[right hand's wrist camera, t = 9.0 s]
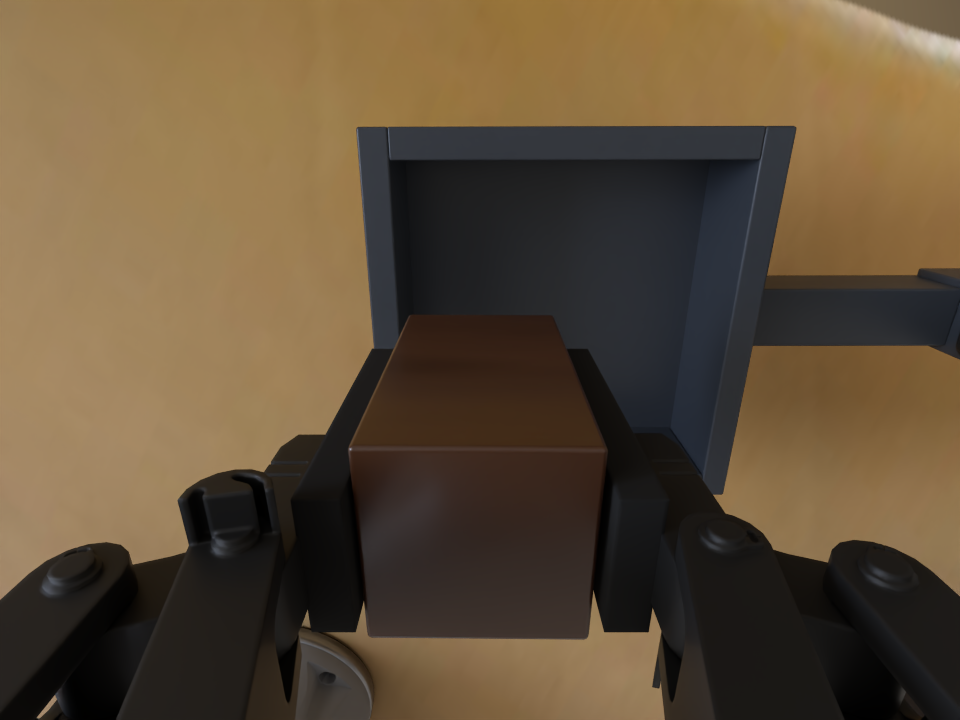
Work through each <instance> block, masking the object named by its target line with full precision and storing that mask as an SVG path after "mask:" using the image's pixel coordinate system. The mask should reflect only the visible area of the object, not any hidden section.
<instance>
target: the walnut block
mask: <svg viewBox="0 0 960 720" xmlns="http://www.w3.org/2000/svg"><path fill="white" fill-rule="evenodd" d="M348 454H349V463H350V472H351V482H352V491H353V501H354V510H355V520H356V529H357V539H358V548H359V558H360V567H361V577H362V586H363V595H364V605H365V614H366V624H367V632H368V635H369V637H372V638H481V639H587V637H588V634H589V626H590V617H591V607H592V598H593V588H594V579H595V570H596V560H597V551H598V541H599V532H600V522H601V513H602V503H603V494H604V484H605V475H606V466H607V456H608V449H607V447H606V444H605V442H604V439H603V437H602V434H601V432H600V430H599V427H598V425H597V422H596V420H595V417H594V415H593V412H592V410H591V407H590V405H589V403H588V400H587V398H586V395H585V393H584V390H583V388H582V385H581V383H580V380H579V378H578V376H577V373H576V371H575V368H574V366H573V363H572V361H571V358H570V356H569V353H568V351H567V349H566V346H565V344H564V341H563V339H562V336H561V334H560V331H559V329H558V326H557V324H556V322H555V319H554V317H553V316H552V315H409V317H408V319H407V321H406V323H405V326H404V328H403V330H402V332H401V334H400V336H399V339H398V341H397V343H396V345H395V347H394V350H393V352H392V354H391V356H390V358H389V360H388V363H387V365H386V367H385V369H384V371H383V373H382V376H381V378H380V380H379V382H378V384H377V387H376V389H375V391H374V393H373V395H372V397H371V400H370V402H369V404H368V406H367V408H366V410H365V413H364V415H363V417H362V419H361V421H360V424H359V426H358V428H357V430H356V432H355V434H354V437H353V439H352V441H351V443H350V445H349V448H348Z"/></svg>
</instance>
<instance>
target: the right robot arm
mask: <svg viewBox="0 0 960 720" xmlns="http://www.w3.org/2000/svg"><path fill="white" fill-rule="evenodd" d="M393 350H394V349H372V350H371V352H370V354H369V356H368V357H367V359H366V361H365V363H364V365H363V367H362V368H361V370H360V372H359V374H358V376H357V378H356V380H355V381H354V383H353V385H352V387H351V389H350V391H349V392H348V394H347V396H346V398H345V400H344V402H343V404H342V405H341V407H340V409H339V411H338V413H337V415H336V416H335V418H334V420H333V422H332V424H331V426H330V428H329V429H328V431H327V433H326V435H298V436H296V437H295V438H293V439H292V440H290V441H289V442H288V443H286V444H285V445H283V446H282V447H281V448H280V449H279V451H278V452H277V454H276V455H275V457H274V458H273V460H272V461H271V465H269V466H268V467H267V469H266V470H265V472H264V473H263V472H260V471H256V470H252V469H248V470H231V471H226V472H222V473H217V474H215V475H212V476H210V477H207V478H205V479H202V480H200V481H199V482H197V483H195V484H194V485H192V486H191V487H189V488H188V489H186V491H185V492H184V493H183V494H182V495H181V497H180V498H179V499H178V504H179V508H180V512H181V515H182V519H183V523H184V527H185V531H186V535H187V539H188V543H189V547H188V549H187V552H186V553H182V554H179V555H175V556H171V557H167V558H162V559H158V560H153V561H148V562H144V563H139V564H135V565H133V564H132V561H131V558H130V555H129V552H128V551H127V550H126V549H125V548H124V547H123V546H121V545H118V544H113V543H107V542H105V543H96V544H88V545H84V546H80V547H78V548H74V549H71V550H68V551H66V552H64V553H62V554H60V555H58V556H56V557H54V558H52V559H50V560H47V561H46V562H44V563H43V564H42V565H40V566H39V567H38V568H36V569H35V570H34V571H32V572H31V573H29V574H28V575H27V576H26V577H25V578H24V579H23V580H22V581H21V582H20V583H18V584H17V585H16V586H15V587H14V588H13V589H12V590H11V591H10V592H9V593H7V594H6V595H5V596H4V597H3V598H2V599H1V600H0V720H370V716H371V711H372V706H373V701H374V687H373V682H372V679H371V676H370V674H369V672H368V670H367V668H366V667H365V665H364V664H363V663H362V661H361V660H360V659H359V658H358V657H357V656H356V655H355V654H354V653H353V652H352V651H351V650H349V649H348V648H347V647H345V646H344V645H343V644H341V643H339V642H338V641H336V640H334V639H332V638H330V637H328V636H326V635H323V634H321V633H318V632H356V629H357V625H358V621H359V617H360V614H361V610H362V606H363V602H364V595H363V586H362V577H361V567H360V558H359V548H358V539H357V529H356V520H355V510H354V501H353V491H352V482H351V472H350V463H349V454H348V448H349V445H350V443H351V441H352V439H353V437H354V434H355V432H356V430H357V428H358V426H359V424H360V421H361V419H362V417H363V415H364V413H365V410H366V408H367V406H368V404H369V402H370V400H371V397H372V395H373V393H374V391H375V389H376V387H377V384H378V382H379V380H380V378H381V376H382V373H383V371H384V369H385V367H386V365H387V363H388V360H389V358H390V356H391V354H392V352H393ZM567 351H568V353H569V356H570V358H571V361H572V363H573V366H574V368H575V371H576V373H577V376H578V378H579V380H580V383H581V385H582V388H583V390H584V393H585V395H586V398H587V400H588V403H589V405H590V407H591V410H592V412H593V415H594V417H595V420H596V422H597V425H598V427H599V430H600V432H601V434H602V437H603V439H604V442H605V444H606V447H607V449H608V456H607V466H606V475H605V484H604V494H603V503H602V513H601V522H600V532H599V541H598V551H597V560H596V570H595V579H594V588H593V590H594V594H595V598H596V602H597V606H598V610H599V613H600V617H601V621H602V625H603V629H604V632H649V626H650V620H651V614H652V608H653V610H654V612H655V615H656V617H657V620H658V623H659V625H660V628H661V631H662V632H661V638H660V643H659V649H658V655H657V661H656V667H655V672H654V679H653V686H652V687H654V688H660V682H661V687H662V696H663V706H664V715H665V720H960V596H959V595H958V594H956V593H955V592H954V591H953V590H952V589H951V588H950V587H949V586H948V585H946V584H945V583H944V582H943V581H942V580H941V579H940V578H939V577H938V576H937V575H935V574H934V573H933V572H932V571H931V570H929V569H928V568H927V567H925V566H924V565H923V564H921V563H920V562H918V561H917V560H916V559H914V558H912V557H910V556H908V555H906V554H904V553H902V552H900V551H898V550H896V549H894V548H891V547H888V546H884V545H882V544H878V543H874V542H868V541H858V540H852V541H846V542H841V543H839V544H838V545H837V546H836V547H834V548H833V549H832V552H831V555H830V558H829V561H828V563H827V562H822V561H818V560H813V559H808V558H804V557H799V556H795V555H790V554H786V553H783V552H779V551H776V550H773V548H772V546H771V544H770V543H769V541H768V540H767V538H766V537H765V536H764V534H763V533H762V532H761V531H759V530H758V529H757V528H755V527H754V526H753V525H751V524H750V523H748V522H746V521H744V520H742V519H739V518H737V517H735V516H732V515H728V514H725V512H724V511H723V509H722V508H721V506H720V505H719V503H718V502H717V500H716V499H715V497H714V496H713V494H712V493H711V492H710V490H709V489H708V487H707V486H706V484H705V483H704V481H703V480H702V478H701V477H700V475H697V471H696V469H695V468H694V466H693V465H692V463H689V459H688V457H687V456H686V454H685V453H684V451H683V450H682V449H681V447H680V446H679V445H678V444H677V443H675V442H674V441H672V440H671V439H669V438H668V437H666V436H665V435H664V434H662V433H633V431H632V429H631V427H630V426H629V424H628V422H627V420H626V418H625V416H624V415H623V413H622V411H621V409H620V407H619V405H618V404H617V402H616V400H615V398H614V396H613V394H612V392H611V391H610V389H609V387H608V385H607V383H606V381H605V380H604V378H603V376H602V374H601V372H600V370H599V368H598V367H597V365H596V363H595V361H594V359H593V357H592V356H591V354H590V352H589V350H588V349H567ZM307 610H308V614H309V620H310V626H311V630H309V629H305V628H301V626H302V623H303V620H304V618H305V615H306V612H307ZM905 693H907V694H908V695H909V696H910V697H911V699H912V700H913V701H914V702H915V704H916V705H917V706H918V707H919V709H920V710H921V711H922V712H923V714H924V717H921V716H919V715H918V714H917V713H916V712H915V711H914V710H913V709H912V707H911V706H910V705H909V704H908V702H907V701H906V700H905V699H904V696H905ZM54 695H55V696H56V698H57V700H56V702H55V703H54V704H53V706H52V707H51V708H50V709H49V710H48V711H47V712H46V713H45V714H44V715H43V716H42V717H41V718H37V716H38V715H39V714H40V713H41V711H42V710H43V709H44V708H45V706H46V705H47V704H48V703H49V701H50V700H51V699H52V698H53V696H54Z"/></svg>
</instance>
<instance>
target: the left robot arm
mask: <svg viewBox="0 0 960 720" xmlns="http://www.w3.org/2000/svg"><path fill="white" fill-rule="evenodd" d="M956 350H957V353H958V354H959V355H960V333H959V336H958V339H957V342H956ZM904 699H905V700H906V701H907V702H908V704H909V705H910V706H911V707H912V709H913V710H914V711H915V712H916V713H917V714H918V715H919V716H921V717H924V714H923V712H922V711H921V710H920V709H919V707H918V706H917V705H916V704H915V702H914V701H913V700H912V699H911V697H910V696H909V695H908V694H907V693H905V696H904Z"/></svg>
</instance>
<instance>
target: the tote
mask: <svg viewBox="0 0 960 720" xmlns="http://www.w3.org/2000/svg"><path fill="white" fill-rule="evenodd" d="M356 131H357V144H358V156H359V168H360V181H361V193H362V205H363V218H364V230H365V242H366V254H367V267H368V279H369V291H370V304H371V316H372V328H373V341H374V349H394V347H395V345H396V343H397V341H398V339H399V336H400V334H401V332H402V330H403V328H404V326H405V323H406V321H407V319H408V317H409V315H552V316H553V317H554V319H555V322H556V324H557V326H558V329H559V331H560V334H561V336H562V339H563V341H564V344H565V346H566V349H588V350H589V352H590V354H591V356H592V357H593V359H594V361H595V363H596V365H597V367H598V368H599V370H600V372H601V374H602V376H603V378H604V380H605V381H606V383H607V385H608V387H609V389H610V391H611V392H612V394H613V396H614V398H615V400H616V402H617V404H618V405H619V407H620V409H621V411H622V413H623V415H624V416H625V418H626V420H627V422H628V424H629V426H630V427H631V429H632V431H633V433H662V434H664V435H665V436H666V437H668V438H669V439H671V440H672V441H674V442H675V443H677V444H678V445H679V446H680V447H681V449H682V450H683V451H684V453H685V454H686V456H687V457H688V459H689V463H692V465H693V466H694V468H695V469H696V471H697V475H700V477H701V478H702V480H703V481H704V483H705V484H706V486H707V487H708V489H709V490H710V492H711V493H712V494H713V495H721V494H723V491H724V486H725V481H726V476H727V471H728V466H729V461H730V456H731V451H732V446H733V441H734V436H735V431H736V426H737V421H738V416H739V411H740V406H741V401H742V396H743V392H744V387H745V382H746V377H747V372H748V367H749V362H750V357H751V352H752V347H753V346H930V347H932V348H935V349H937V350H939V351H941V352H944V353H946V354H948V355H951V356H953V357H955V358H957V359H960V355H959V354H958V353H957V350H956V342H957V339H958V336H959V333H960V268H941V269H919V271H918V274H917V276H916V275H862V276H767V272H768V267H769V262H770V257H771V252H772V247H773V242H774V237H775V233H776V228H777V223H778V218H779V213H780V208H781V203H782V198H783V193H784V188H785V183H786V178H787V173H788V168H789V163H790V158H791V153H792V148H793V143H794V138H795V133H796V127H795V126H539V127H357V129H356Z"/></svg>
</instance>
